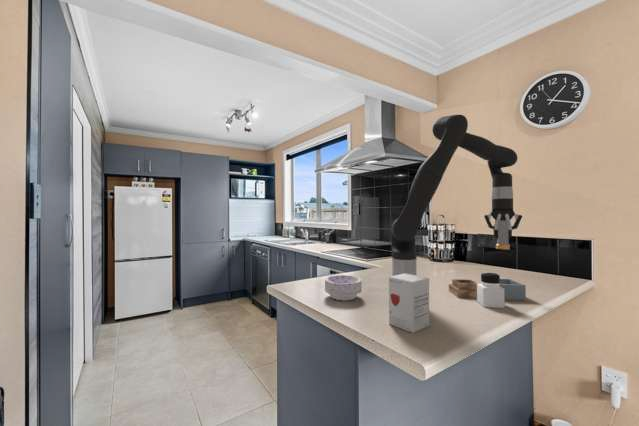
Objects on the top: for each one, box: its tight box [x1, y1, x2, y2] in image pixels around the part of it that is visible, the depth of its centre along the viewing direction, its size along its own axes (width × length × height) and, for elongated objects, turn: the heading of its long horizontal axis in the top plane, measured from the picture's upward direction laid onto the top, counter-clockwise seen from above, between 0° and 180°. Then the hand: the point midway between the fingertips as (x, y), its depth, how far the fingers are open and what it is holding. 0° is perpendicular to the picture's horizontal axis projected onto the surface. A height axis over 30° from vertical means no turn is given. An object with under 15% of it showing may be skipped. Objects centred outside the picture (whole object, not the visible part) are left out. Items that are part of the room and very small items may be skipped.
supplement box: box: [388, 273, 430, 334], centre depth 86 cm, size 9×9×15 cm
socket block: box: [448, 278, 479, 299], centre depth 120 cm, size 10×10×6 cm
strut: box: [495, 221, 511, 251], centre depth 117 cm, size 5×5×12 cm
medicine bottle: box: [476, 271, 506, 309], centre depth 105 cm, size 7×7×12 cm
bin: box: [499, 278, 527, 301], centre depth 117 cm, size 11×11×6 cm
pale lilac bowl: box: [324, 274, 363, 302], centre depth 115 cm, size 15×15×8 cm
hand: (502, 238), depth 117 cm, fingers closed on strut, 3 cm apart
